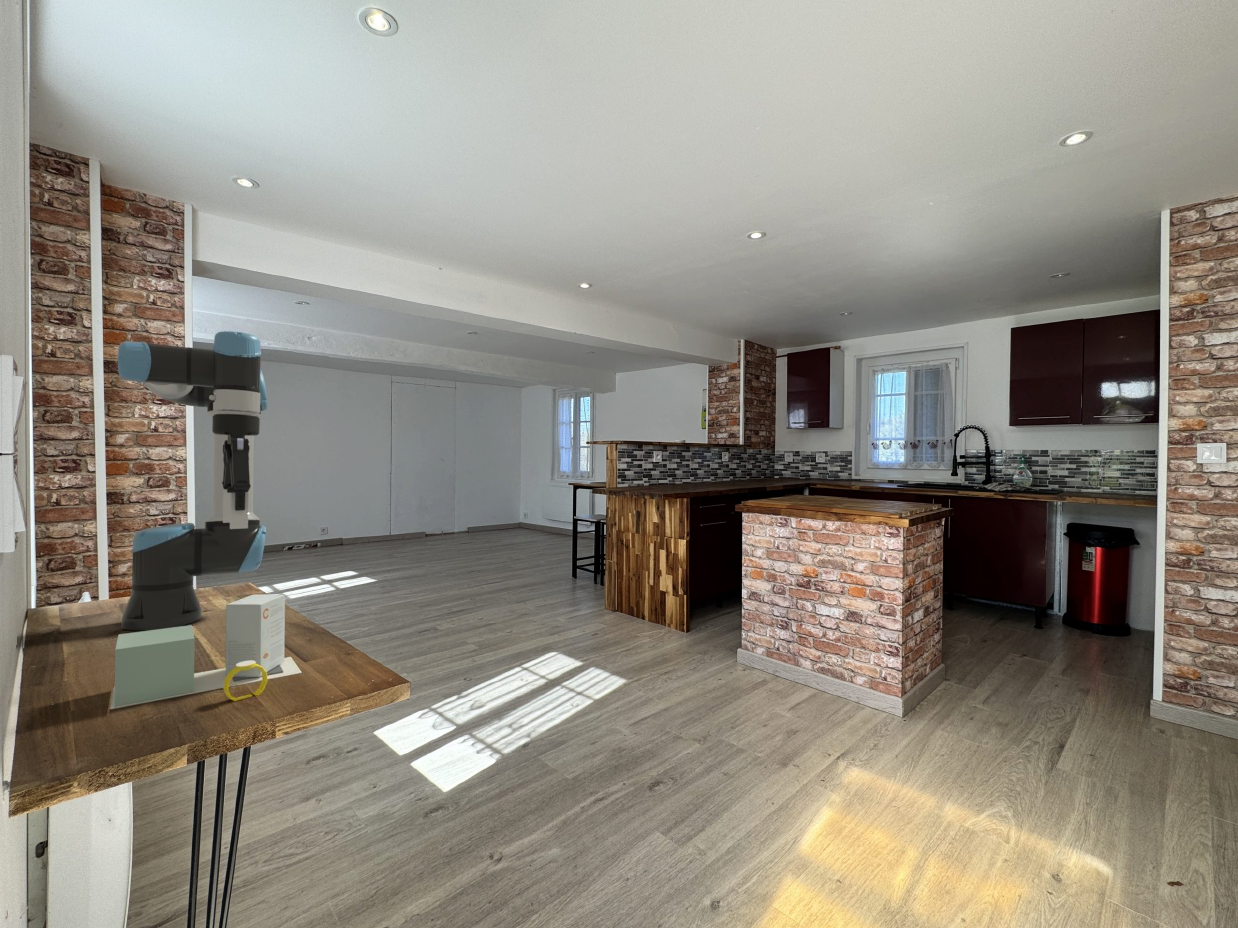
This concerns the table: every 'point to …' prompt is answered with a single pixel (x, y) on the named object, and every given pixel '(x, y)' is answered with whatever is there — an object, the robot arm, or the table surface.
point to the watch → (245, 666)
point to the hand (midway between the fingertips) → (234, 525)
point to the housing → (154, 664)
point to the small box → (255, 633)
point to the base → (217, 678)
